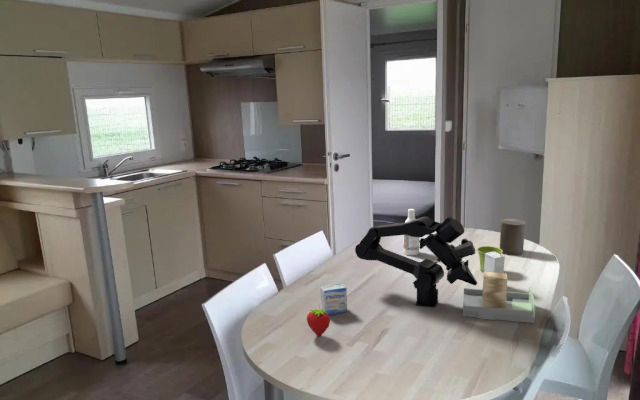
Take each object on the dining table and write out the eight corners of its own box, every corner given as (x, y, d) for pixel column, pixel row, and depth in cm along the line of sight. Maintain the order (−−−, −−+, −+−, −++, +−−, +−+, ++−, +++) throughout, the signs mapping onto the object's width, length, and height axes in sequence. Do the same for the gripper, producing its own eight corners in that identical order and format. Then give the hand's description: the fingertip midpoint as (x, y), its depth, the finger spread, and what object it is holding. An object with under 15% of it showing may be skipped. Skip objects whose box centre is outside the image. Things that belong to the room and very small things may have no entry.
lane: (462, 316, 152) (463, 299, 151) (463, 298, 165) (464, 282, 164) (534, 323, 146) (535, 305, 145) (529, 304, 159) (530, 287, 158)
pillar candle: (500, 254, 206) (502, 221, 202) (498, 247, 215) (500, 215, 211) (524, 256, 203) (527, 222, 199) (522, 248, 212) (524, 216, 208)
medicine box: (324, 315, 157) (323, 291, 155) (321, 310, 161) (320, 286, 159) (347, 312, 159) (346, 287, 157) (343, 306, 163) (342, 282, 161)
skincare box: (482, 283, 177) (483, 252, 174) (492, 282, 178) (494, 251, 175) (492, 290, 171) (494, 258, 168) (503, 288, 172) (505, 256, 169)
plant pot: (497, 266, 193) (498, 245, 191) (504, 275, 184) (505, 253, 182) (474, 266, 194) (474, 246, 192) (479, 275, 184) (480, 254, 183)
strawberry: (314, 328, 149) (313, 298, 146) (334, 335, 144) (333, 304, 142) (303, 336, 144) (301, 305, 142) (323, 343, 140) (321, 312, 137)
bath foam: (404, 250, 216) (404, 207, 212) (420, 251, 214) (420, 207, 210) (401, 255, 210) (401, 211, 206) (417, 256, 208) (418, 211, 203)
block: (482, 306, 154) (483, 277, 152) (482, 300, 159) (483, 271, 157) (505, 308, 152) (507, 279, 150) (504, 302, 157) (506, 273, 155)
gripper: (458, 242, 145) (496, 280, 144) (461, 225, 162) (495, 259, 161) (431, 265, 149) (468, 301, 148) (437, 246, 166) (469, 279, 165)
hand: (476, 284), depth 155 cm, fingers closed
